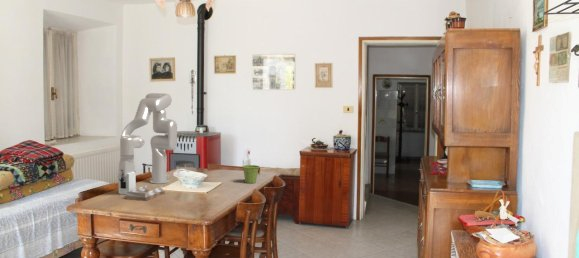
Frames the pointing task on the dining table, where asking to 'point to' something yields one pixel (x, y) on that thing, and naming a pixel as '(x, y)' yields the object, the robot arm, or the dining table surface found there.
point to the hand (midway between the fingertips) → (127, 186)
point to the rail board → (144, 193)
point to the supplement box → (128, 183)
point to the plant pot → (250, 173)
